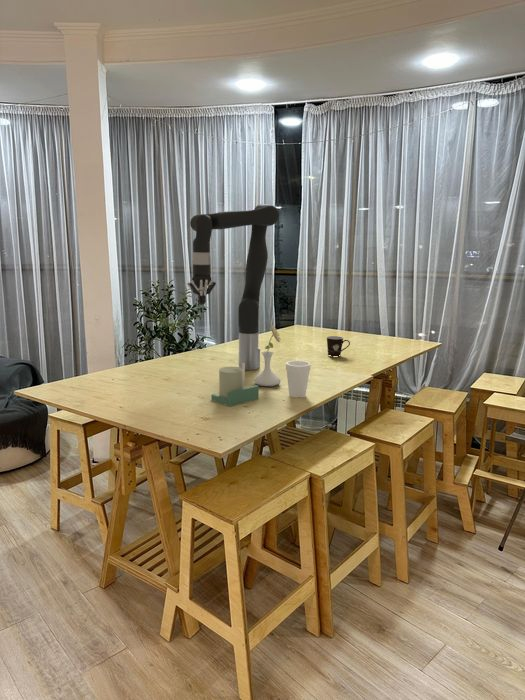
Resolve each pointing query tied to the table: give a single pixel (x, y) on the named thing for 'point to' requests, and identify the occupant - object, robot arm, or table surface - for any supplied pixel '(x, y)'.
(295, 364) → the foam cup
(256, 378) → the flower in vase
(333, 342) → the coffee mug
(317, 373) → the table surface
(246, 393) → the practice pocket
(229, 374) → the can
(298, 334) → the table surface
